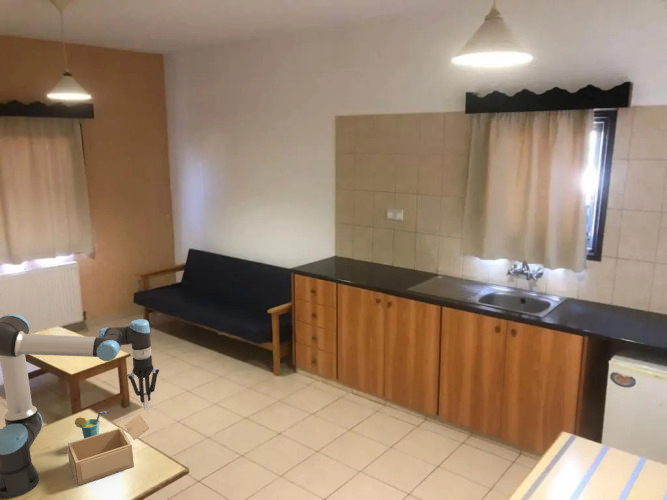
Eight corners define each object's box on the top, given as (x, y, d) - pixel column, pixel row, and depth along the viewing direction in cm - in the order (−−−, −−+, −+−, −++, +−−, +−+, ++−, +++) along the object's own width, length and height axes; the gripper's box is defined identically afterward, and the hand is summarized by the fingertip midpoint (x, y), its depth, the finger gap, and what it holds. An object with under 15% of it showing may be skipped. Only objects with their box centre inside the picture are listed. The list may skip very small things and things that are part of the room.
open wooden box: (77, 487, 208) (74, 464, 206) (68, 465, 223) (66, 443, 221) (134, 467, 221) (132, 445, 219) (122, 447, 235) (120, 426, 233)
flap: (149, 427, 224) (150, 428, 224) (139, 414, 235) (140, 414, 235) (133, 439, 221) (133, 440, 221) (124, 425, 232) (124, 426, 232)
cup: (111, 436, 244) (108, 406, 241) (112, 445, 237) (108, 414, 234) (77, 444, 239) (73, 413, 236) (77, 453, 232) (73, 421, 229)
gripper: (128, 362, 218) (132, 416, 222) (160, 355, 225) (164, 407, 230) (123, 357, 224) (127, 409, 228) (155, 350, 231) (158, 400, 236)
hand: (146, 408), depth 229 cm, fingers closed
